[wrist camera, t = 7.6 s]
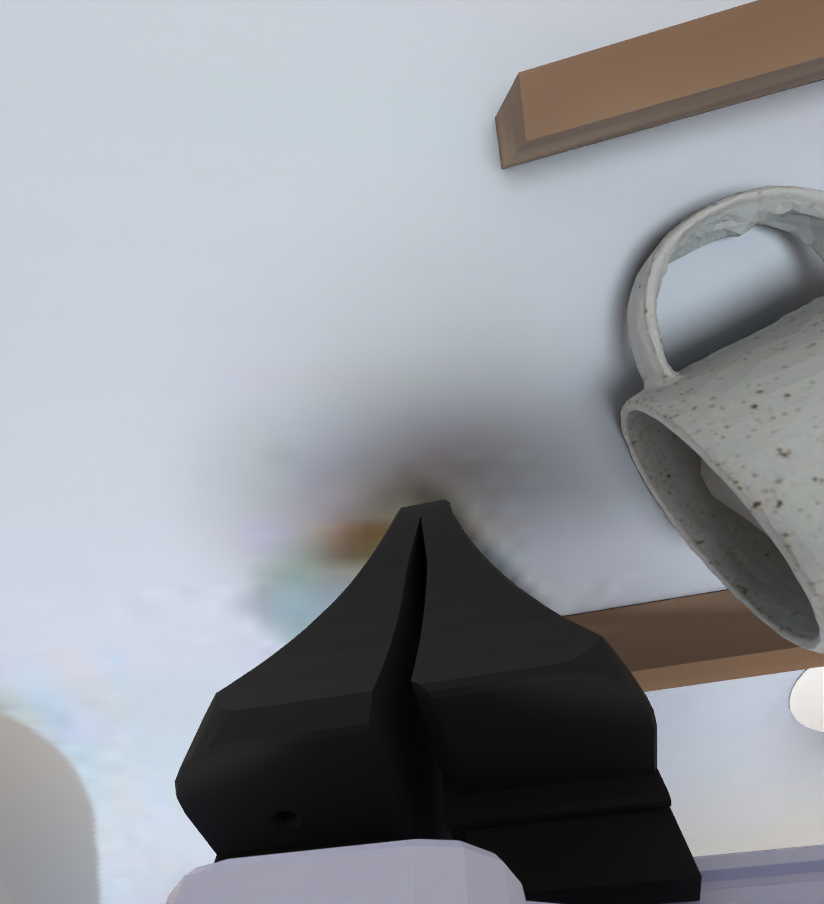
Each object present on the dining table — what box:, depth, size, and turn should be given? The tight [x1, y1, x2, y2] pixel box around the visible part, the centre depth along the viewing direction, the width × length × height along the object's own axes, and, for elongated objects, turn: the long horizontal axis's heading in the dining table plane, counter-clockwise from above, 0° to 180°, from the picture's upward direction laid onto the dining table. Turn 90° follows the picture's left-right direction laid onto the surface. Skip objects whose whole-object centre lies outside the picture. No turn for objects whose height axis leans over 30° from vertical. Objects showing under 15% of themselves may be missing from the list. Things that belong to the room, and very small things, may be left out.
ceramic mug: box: [620, 186, 824, 654], centre depth 11 cm, size 11×8×8 cm
